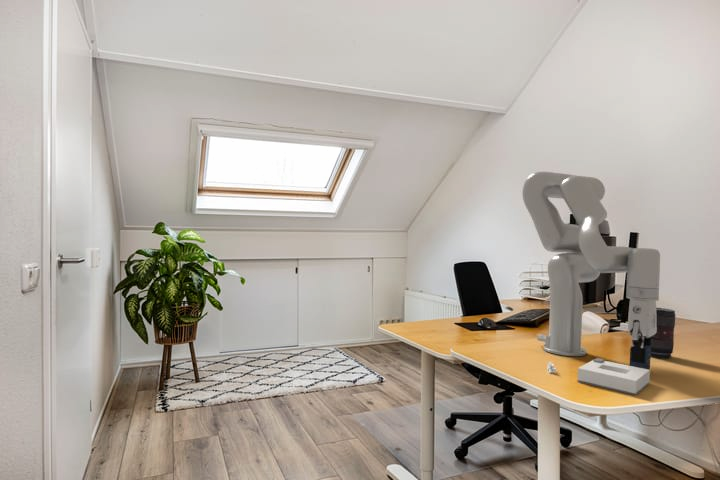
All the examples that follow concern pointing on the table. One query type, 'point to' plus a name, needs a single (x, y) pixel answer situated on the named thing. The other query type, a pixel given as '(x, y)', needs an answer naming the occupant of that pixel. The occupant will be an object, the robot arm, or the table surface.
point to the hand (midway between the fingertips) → (640, 360)
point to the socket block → (614, 376)
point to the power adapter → (551, 368)
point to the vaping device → (647, 355)
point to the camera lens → (663, 334)
